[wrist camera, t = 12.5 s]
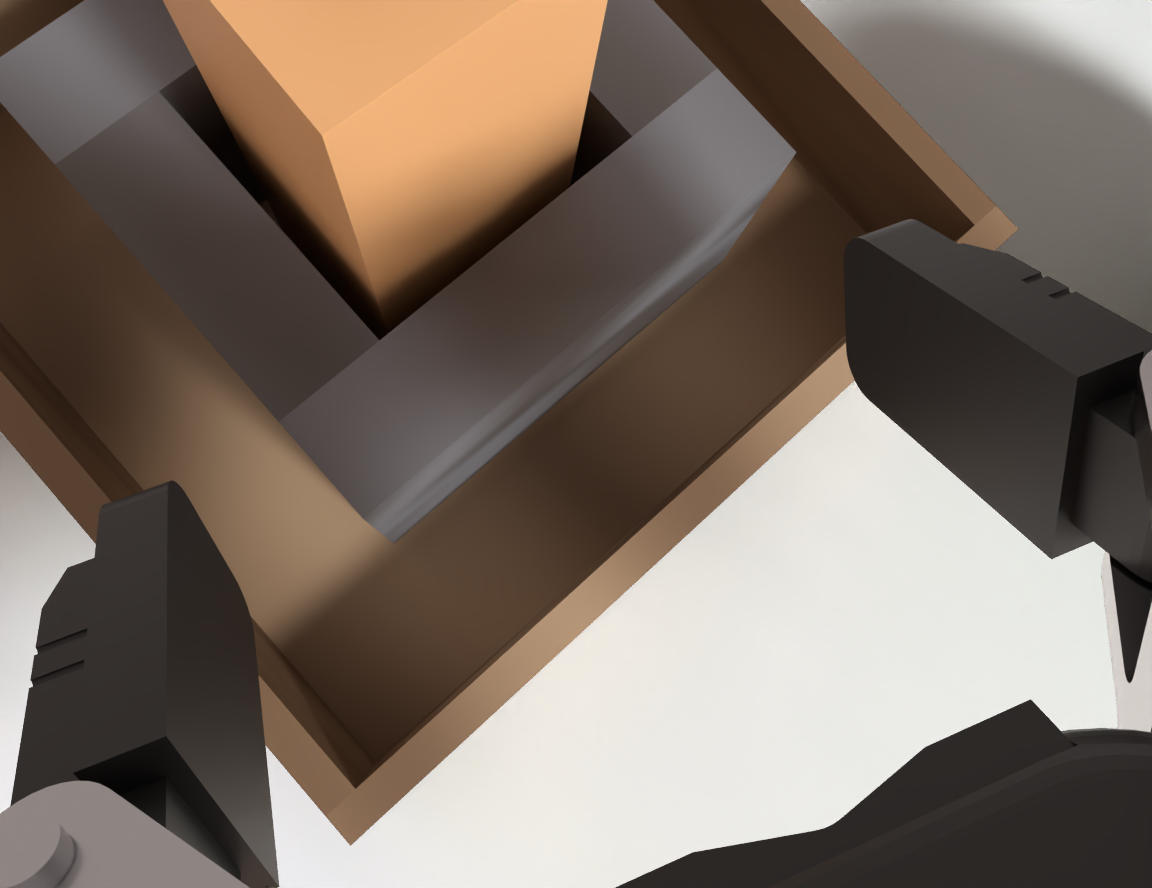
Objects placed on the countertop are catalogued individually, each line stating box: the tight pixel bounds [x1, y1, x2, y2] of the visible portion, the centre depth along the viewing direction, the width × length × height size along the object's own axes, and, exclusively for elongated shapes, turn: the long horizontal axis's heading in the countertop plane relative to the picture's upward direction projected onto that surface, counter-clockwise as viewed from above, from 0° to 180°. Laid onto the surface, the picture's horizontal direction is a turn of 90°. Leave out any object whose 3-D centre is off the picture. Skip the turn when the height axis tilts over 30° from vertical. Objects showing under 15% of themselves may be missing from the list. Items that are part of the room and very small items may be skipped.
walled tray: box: [0, 0, 1018, 846], centre depth 18 cm, size 16×16×6 cm
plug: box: [163, 0, 608, 340], centre depth 14 cm, size 4×4×12 cm
